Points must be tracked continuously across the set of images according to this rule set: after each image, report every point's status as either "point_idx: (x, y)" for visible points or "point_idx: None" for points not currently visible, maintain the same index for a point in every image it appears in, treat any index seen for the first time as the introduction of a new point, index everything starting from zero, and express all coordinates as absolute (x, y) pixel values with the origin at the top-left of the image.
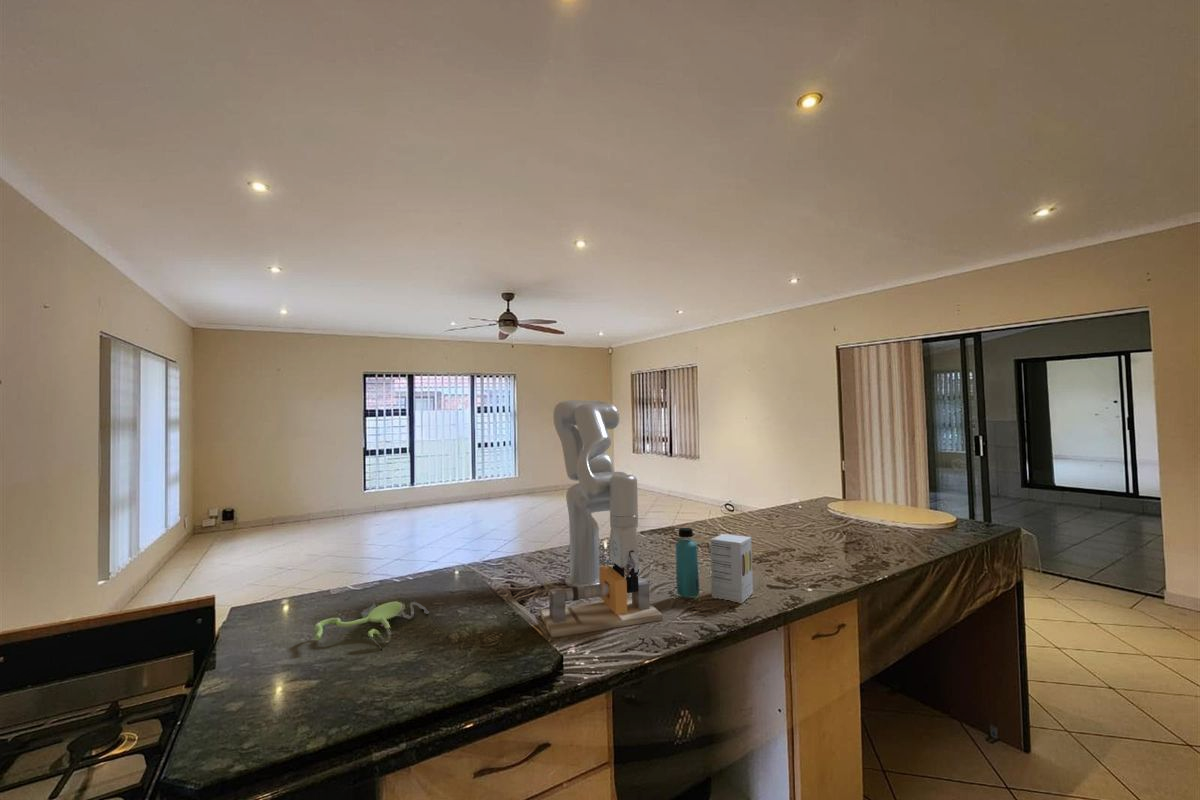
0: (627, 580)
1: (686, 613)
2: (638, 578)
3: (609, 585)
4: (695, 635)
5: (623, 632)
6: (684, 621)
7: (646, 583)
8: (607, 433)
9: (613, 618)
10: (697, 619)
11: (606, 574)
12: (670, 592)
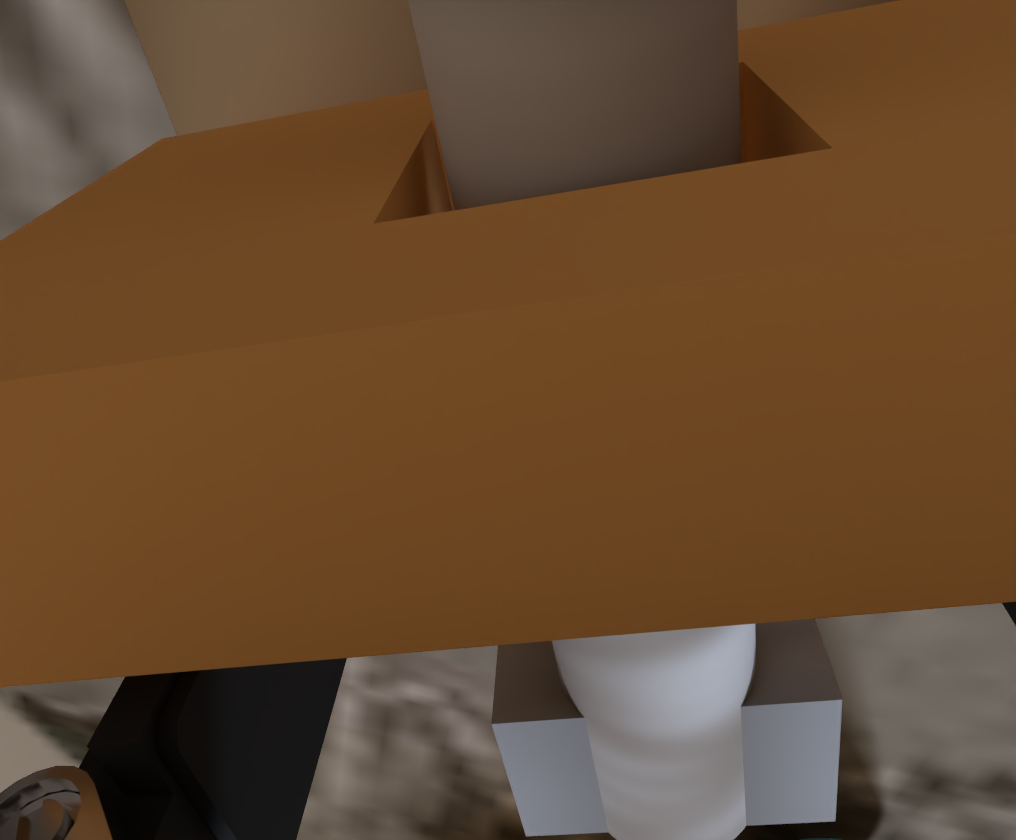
0: (134, 684)
1: (499, 757)
2: (826, 782)
3: (380, 212)
4: (84, 696)
5: (67, 158)
6: (342, 707)
7: (536, 812)
8: None
9: (269, 89)
10: (372, 779)
11: (664, 267)
12: (1011, 789)
